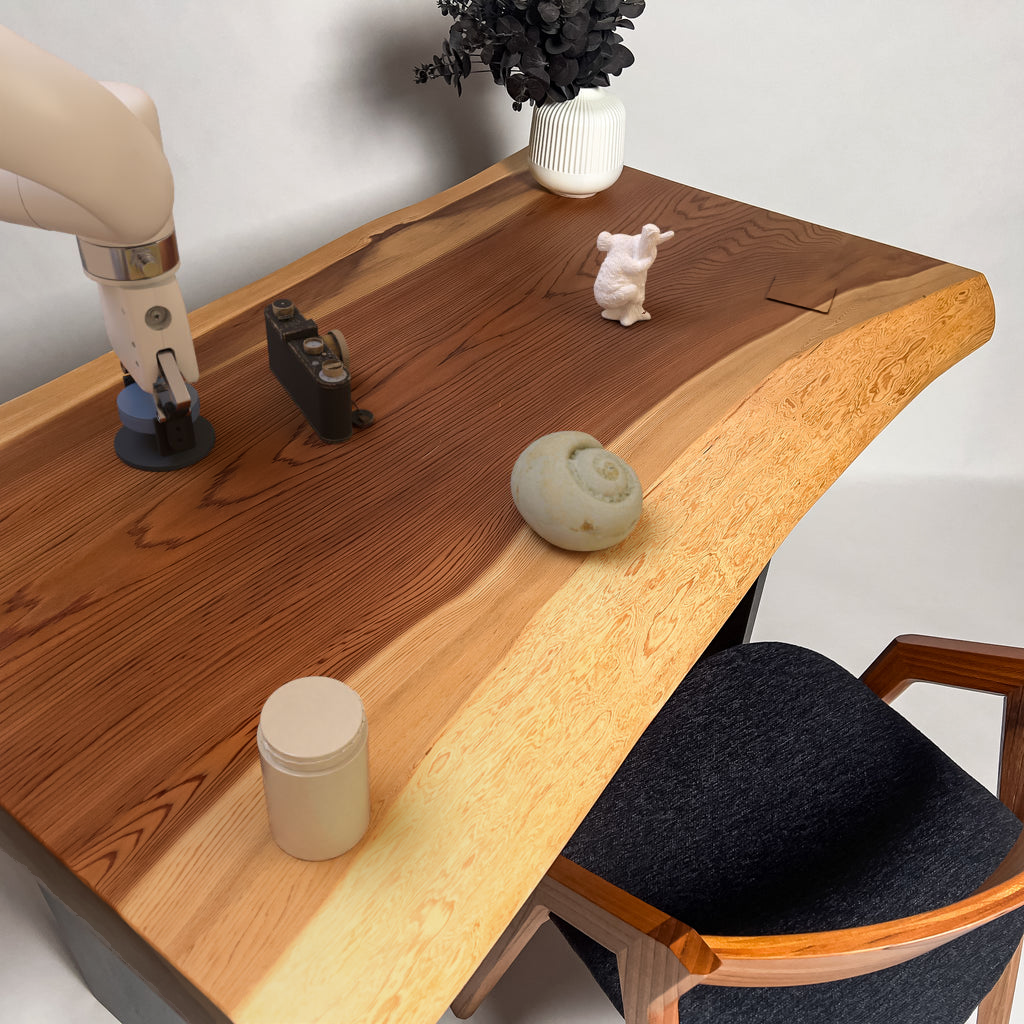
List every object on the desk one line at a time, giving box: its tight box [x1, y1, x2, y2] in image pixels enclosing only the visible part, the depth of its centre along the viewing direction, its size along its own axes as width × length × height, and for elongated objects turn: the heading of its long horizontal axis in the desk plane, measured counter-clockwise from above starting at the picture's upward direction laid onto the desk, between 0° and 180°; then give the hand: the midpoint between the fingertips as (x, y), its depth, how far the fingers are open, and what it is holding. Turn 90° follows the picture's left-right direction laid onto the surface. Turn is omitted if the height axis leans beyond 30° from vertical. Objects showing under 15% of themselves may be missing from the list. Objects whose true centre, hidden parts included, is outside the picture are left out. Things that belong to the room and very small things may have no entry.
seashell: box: [510, 430, 644, 552], centre depth 84 cm, size 13×8×10 cm
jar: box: [256, 675, 371, 862], centre depth 59 cm, size 6×6×10 cm
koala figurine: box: [593, 223, 675, 327], centre depth 112 cm, size 8×7×12 cm
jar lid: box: [116, 377, 201, 434], centre depth 87 cm, size 7×7×2 cm
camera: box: [263, 298, 375, 444], centre depth 95 cm, size 16×7×8 cm, turn 31°
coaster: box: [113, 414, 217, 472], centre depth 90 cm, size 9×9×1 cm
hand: (162, 428), depth 89 cm, fingers closed on jar lid, 6 cm apart
